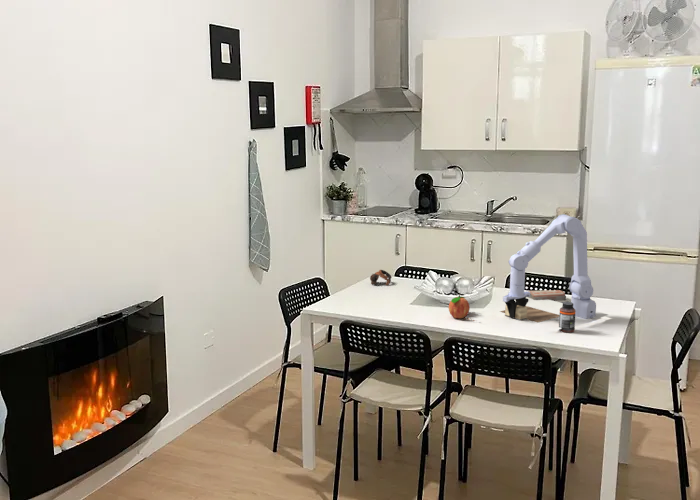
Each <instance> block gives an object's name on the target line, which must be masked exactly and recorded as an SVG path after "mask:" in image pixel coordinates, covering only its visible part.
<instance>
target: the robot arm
mask: <svg viewBox="0 0 700 500" xmlns="http://www.w3.org/2000/svg"><path fill="white" fill-rule="evenodd" d="M565 233H567V234H568V235H570V236H571V237H572V244H573V245H572V246H573V247H572V249H573V251H572V252H573V254H572V255H573V274H572V276H571V280H570V283H569V291H570V293H571V301H570V302H572V303H573V308H574V309H575V310H576V312H575V318H581V319H584V320H588V319H593V318H596V317H597V316H596V315H597V302H596V301H595V300H592V299H591V297H592V296H593V294H594V287H593V285H592V281H591V278H590V276H589V275H588V274H589V272H588V233H587V230H586V228H585V227H584V225H583V224H582V221H581V220H580V219H579V218H577V217H575V216H570V215H568V214H565V213H564V214H563V213H562V214H559V215H558V216H556V218H555V219H553V220H552V221H551V223H550V225H549V226H547V228H545V229H544V231H543V232H542V233H540V235H539V236H538V237H537V238H536V239H534V240H529V241H526V242H525V245H524V246H523V247H522V248H521V249H520V250H518V251H517V252H516V253H515V254H512V255H511V256H510V258H509V259H508V264H509V266H510V273H509V274H510V277H509V278H510V279H509V282H510V283H509V292H507V294H506V295H504V296H502V302H503V303H505V306H506V305H507V308H508V311H509V315H510V317H509V318H511V317H512V319H514V317H515V312H516V307H517V305H519V306H523V307H525V306H527V304H528V303H529V300H530V298H529V297H530V292H527V291H525V282H526V281H525V280H526V279H525V278H526V273H525V272H526V269H527V267H528V266H529V263H530V261H531V260H533V259H534V258H535V257H536V256H537V255H538V254H539V253H541V247H542V246H544V245H545V244H546V243H547V242H549V240H551V239H552V238H553V237H555V236H556V235H558V234H565Z"/></svg>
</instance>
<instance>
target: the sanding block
mask: <svg viewBox="0 0 700 500" xmlns="http://www.w3.org/2000/svg"><path fill="white" fill-rule="evenodd" d="M504 316H505V317H507V318H508V317H509V318H512V317H510V315H509V311H508V308H507V305H506V304H505V313H504ZM512 319H514V320H518V321H523V320H527V307H523V306H519V305H517V307H516V312H515V317H514V318H512Z"/></svg>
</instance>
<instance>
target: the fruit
mask: <svg viewBox="0 0 700 500" xmlns="http://www.w3.org/2000/svg"><path fill="white" fill-rule="evenodd" d="M448 311H449V314H450V315H451V317H452V318H454V319H464V318H466V316H468V314H469V313H470V303H469V301H468V299H466V297H465V296H461V294H460V293H459V294H458V296H456V297H453V298H452V299H450V301H449V304H448Z"/></svg>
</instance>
